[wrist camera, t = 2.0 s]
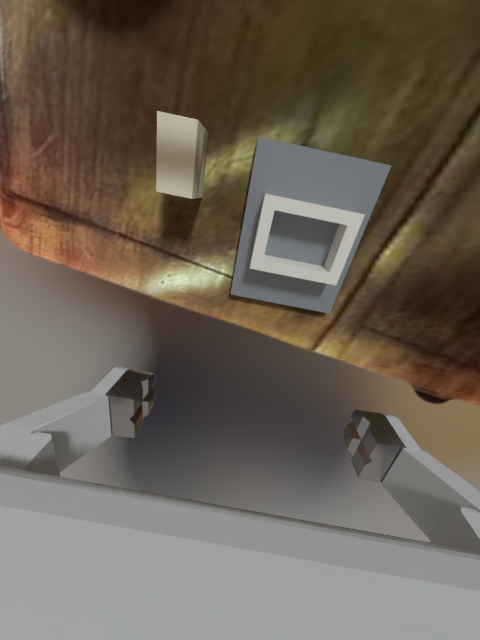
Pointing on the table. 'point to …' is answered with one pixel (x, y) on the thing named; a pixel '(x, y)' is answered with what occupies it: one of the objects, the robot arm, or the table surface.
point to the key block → (180, 155)
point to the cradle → (303, 223)
